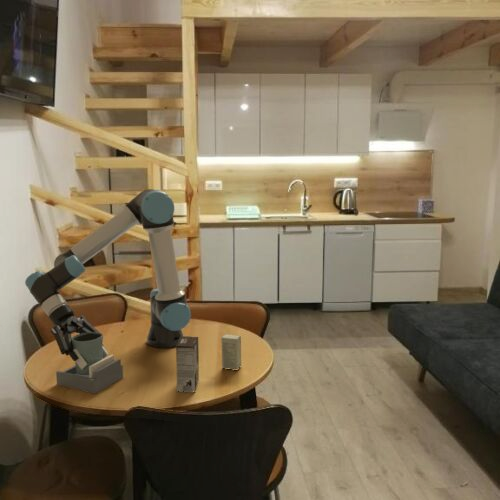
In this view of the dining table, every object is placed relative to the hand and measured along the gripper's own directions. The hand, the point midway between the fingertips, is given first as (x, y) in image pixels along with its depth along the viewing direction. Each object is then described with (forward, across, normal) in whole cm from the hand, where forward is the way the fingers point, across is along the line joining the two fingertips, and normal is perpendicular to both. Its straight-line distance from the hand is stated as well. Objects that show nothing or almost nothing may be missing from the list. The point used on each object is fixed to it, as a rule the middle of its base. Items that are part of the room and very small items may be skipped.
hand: (95, 361), depth 163 cm
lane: (+3, 0, -7) cm, 8 cm away
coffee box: (+26, -11, +16) cm, 33 cm away
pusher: (+6, 0, -3) cm, 7 cm away
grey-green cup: (+1, 0, -5) cm, 5 cm away
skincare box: (+31, -31, +20) cm, 48 cm away
